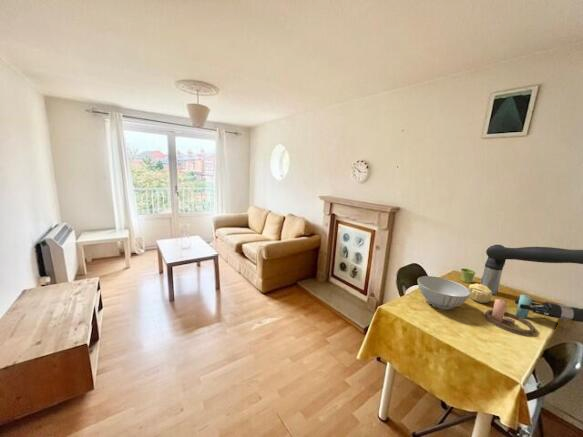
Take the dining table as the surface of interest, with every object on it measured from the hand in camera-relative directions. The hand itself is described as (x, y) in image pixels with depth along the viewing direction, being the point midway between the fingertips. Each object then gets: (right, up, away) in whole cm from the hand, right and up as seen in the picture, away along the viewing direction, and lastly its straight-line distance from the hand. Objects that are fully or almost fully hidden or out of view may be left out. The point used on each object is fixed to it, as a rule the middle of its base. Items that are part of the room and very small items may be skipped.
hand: (518, 303), depth 132 cm
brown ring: (-12, -8, -7) cm, 16 cm away
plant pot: (+4, 0, +45) cm, 45 cm away
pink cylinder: (-18, -7, -6) cm, 20 cm away
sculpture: (-9, -4, +17) cm, 19 cm away
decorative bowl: (-38, -4, +10) cm, 40 cm away
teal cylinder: (+2, -7, 0) cm, 7 cm away
